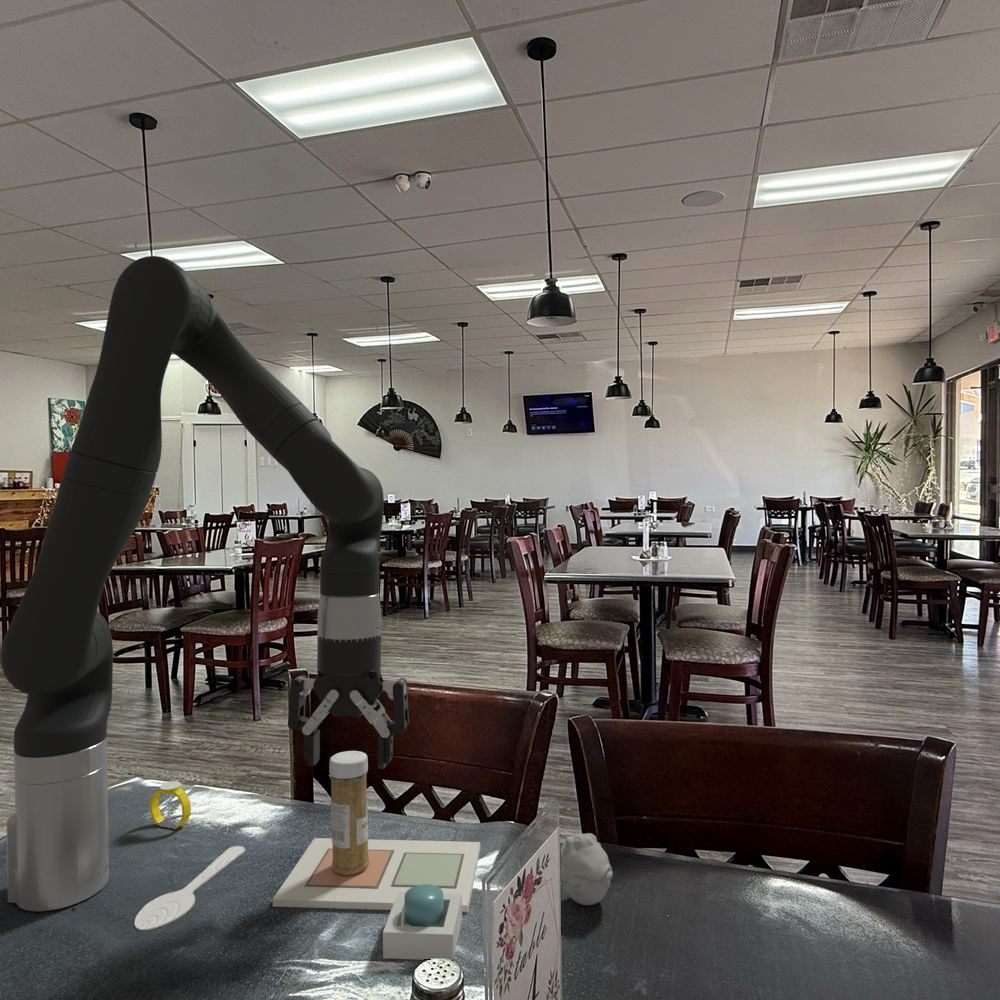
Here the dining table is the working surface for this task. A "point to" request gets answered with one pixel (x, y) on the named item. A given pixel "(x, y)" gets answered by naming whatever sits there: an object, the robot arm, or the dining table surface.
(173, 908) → the spoon
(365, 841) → the sprinkles bottle
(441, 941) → the button housing
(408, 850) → the picture board
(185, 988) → the dining table surface
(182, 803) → the watch
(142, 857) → the dining table surface
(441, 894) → the button
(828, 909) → the dining table surface
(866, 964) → the dining table surface
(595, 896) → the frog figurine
